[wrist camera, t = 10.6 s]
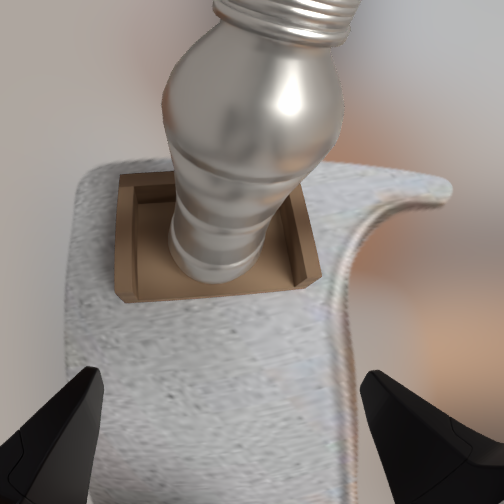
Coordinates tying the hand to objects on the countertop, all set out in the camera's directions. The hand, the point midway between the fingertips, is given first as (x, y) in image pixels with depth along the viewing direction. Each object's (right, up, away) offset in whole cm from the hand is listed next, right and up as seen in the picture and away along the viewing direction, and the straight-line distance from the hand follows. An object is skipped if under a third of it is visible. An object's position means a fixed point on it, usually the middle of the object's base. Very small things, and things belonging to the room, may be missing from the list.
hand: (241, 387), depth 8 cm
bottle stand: (-3, +5, +15) cm, 16 cm away
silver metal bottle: (-3, +4, +14) cm, 15 cm away
